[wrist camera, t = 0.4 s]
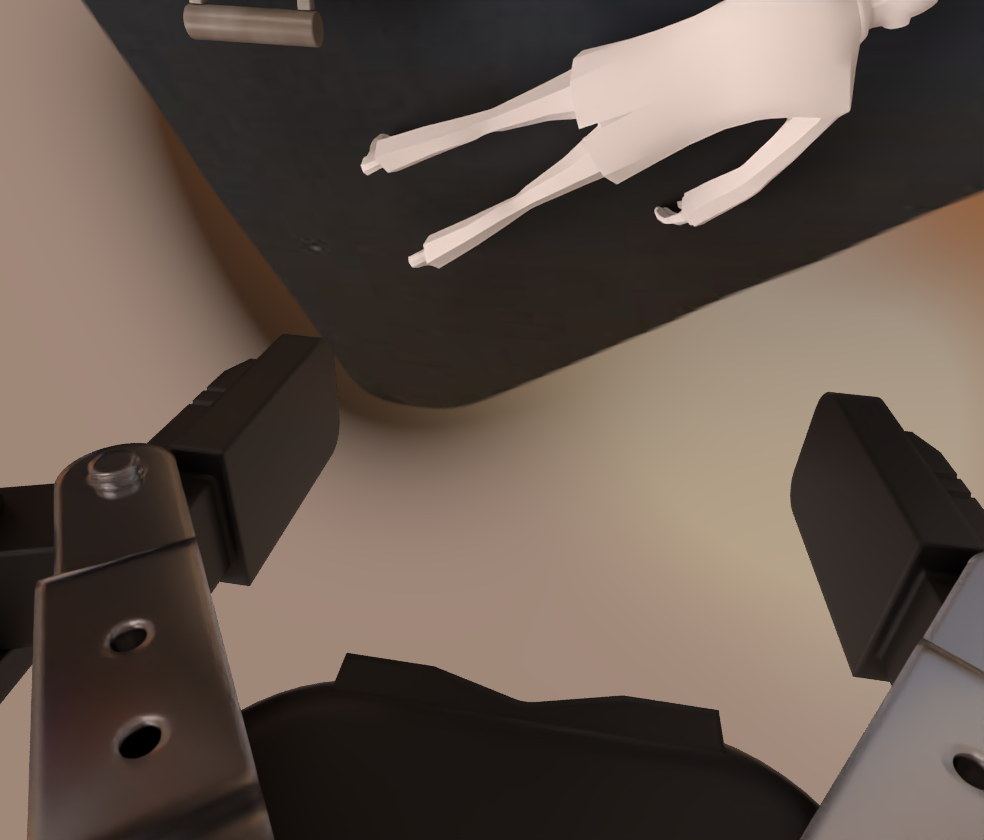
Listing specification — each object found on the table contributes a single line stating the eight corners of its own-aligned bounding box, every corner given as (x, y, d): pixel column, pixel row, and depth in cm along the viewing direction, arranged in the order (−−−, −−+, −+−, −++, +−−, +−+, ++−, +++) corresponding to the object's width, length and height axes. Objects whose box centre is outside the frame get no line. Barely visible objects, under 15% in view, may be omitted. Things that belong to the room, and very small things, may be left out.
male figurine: (476, 290, 42) (942, 132, 31) (443, 334, 37) (980, 165, 26) (371, 67, 37) (895, -228, 25) (316, 84, 32) (933, -272, 20)
